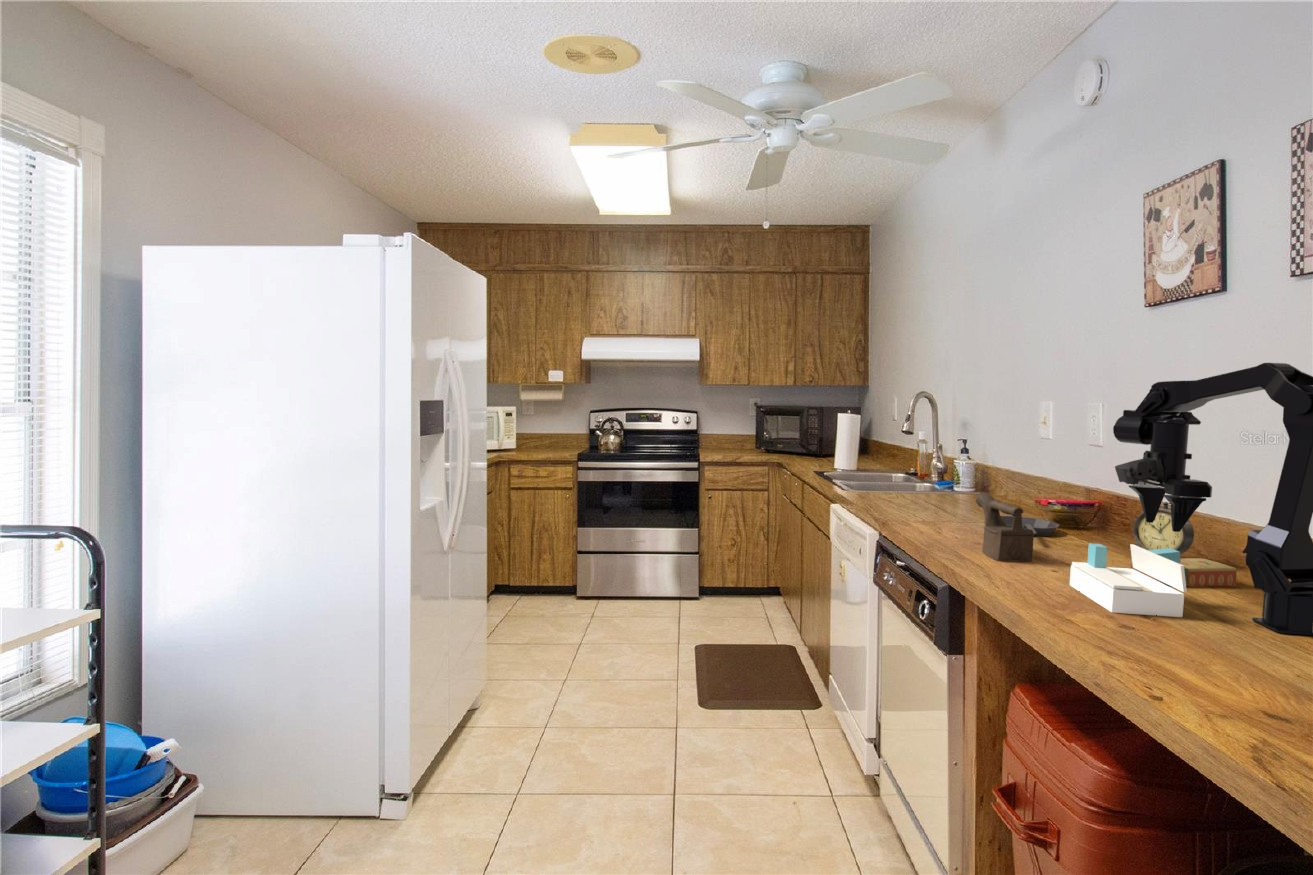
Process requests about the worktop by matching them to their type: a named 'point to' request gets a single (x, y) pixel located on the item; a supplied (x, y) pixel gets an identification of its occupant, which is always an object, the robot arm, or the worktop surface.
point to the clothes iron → (1004, 531)
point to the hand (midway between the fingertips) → (1162, 526)
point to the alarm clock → (1162, 532)
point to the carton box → (1130, 594)
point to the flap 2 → (1160, 565)
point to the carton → (1204, 573)
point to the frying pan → (1033, 525)
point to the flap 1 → (1103, 569)
